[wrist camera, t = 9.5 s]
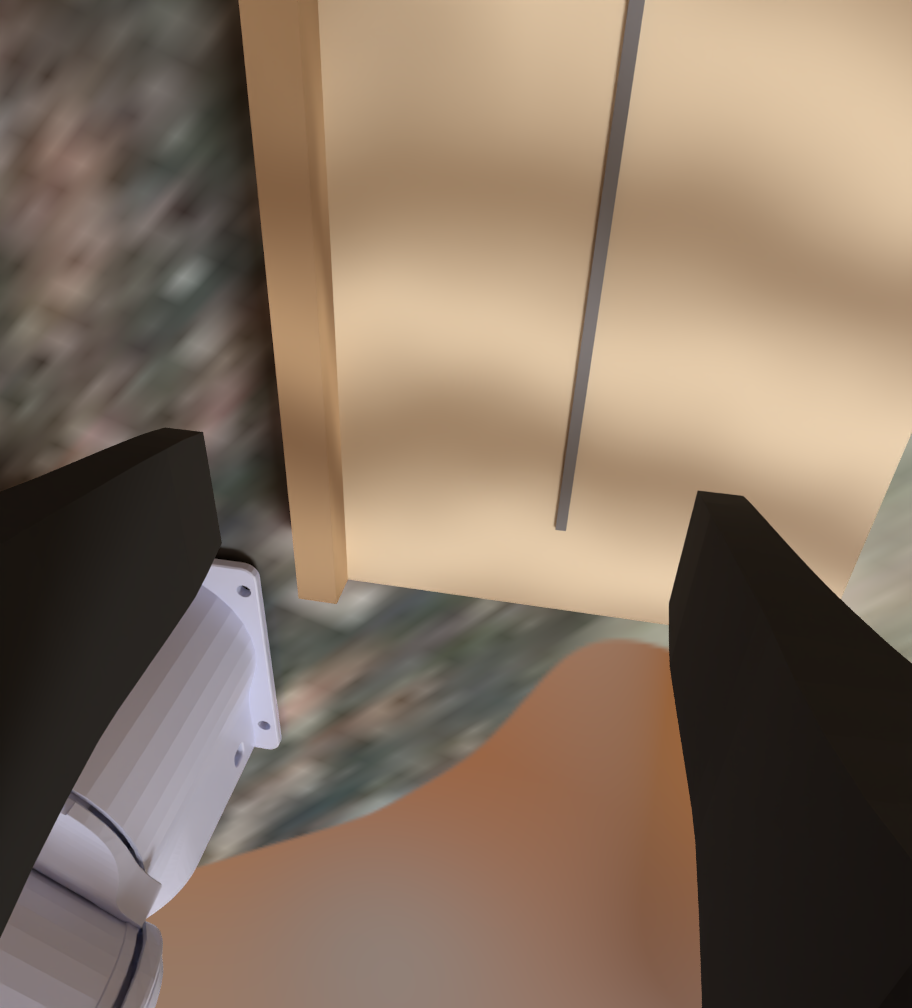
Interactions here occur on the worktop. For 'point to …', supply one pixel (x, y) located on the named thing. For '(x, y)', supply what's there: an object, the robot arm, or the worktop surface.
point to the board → (581, 283)
